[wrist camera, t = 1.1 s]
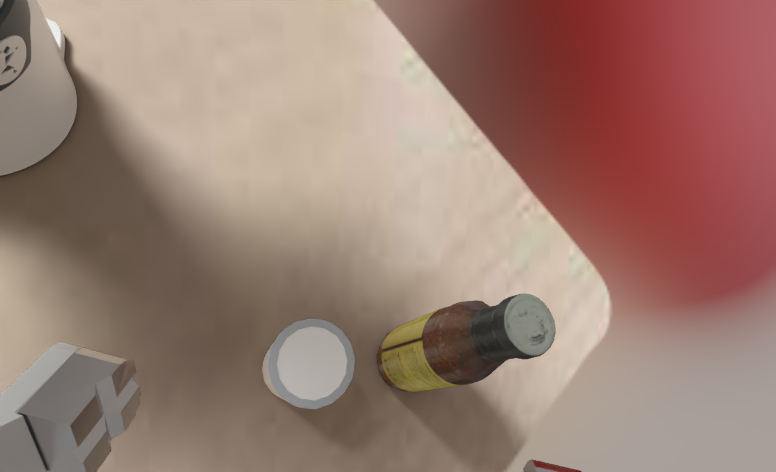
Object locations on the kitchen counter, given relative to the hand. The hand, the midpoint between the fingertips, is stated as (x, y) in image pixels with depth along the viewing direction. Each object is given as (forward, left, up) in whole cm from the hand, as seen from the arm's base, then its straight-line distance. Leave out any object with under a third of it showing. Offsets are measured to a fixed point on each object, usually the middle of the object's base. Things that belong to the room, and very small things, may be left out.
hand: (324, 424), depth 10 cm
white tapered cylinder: (+5, +6, -36) cm, 36 cm away
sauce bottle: (+14, +12, -36) cm, 40 cm away
